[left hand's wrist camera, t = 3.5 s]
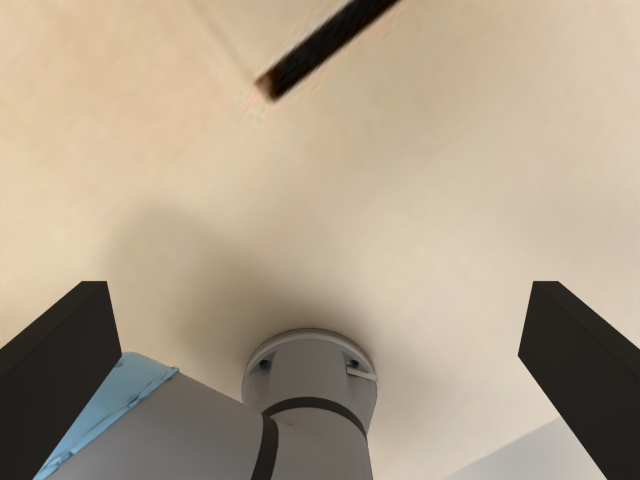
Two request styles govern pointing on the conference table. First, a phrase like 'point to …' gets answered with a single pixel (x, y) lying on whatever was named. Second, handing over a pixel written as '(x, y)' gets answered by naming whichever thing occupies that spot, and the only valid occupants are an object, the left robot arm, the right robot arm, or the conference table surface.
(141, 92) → the conference table surface
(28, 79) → the conference table surface
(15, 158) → the conference table surface
